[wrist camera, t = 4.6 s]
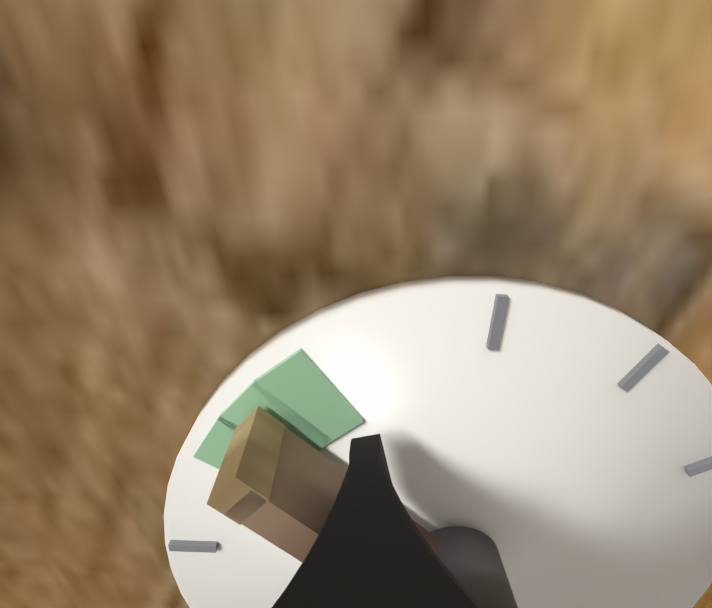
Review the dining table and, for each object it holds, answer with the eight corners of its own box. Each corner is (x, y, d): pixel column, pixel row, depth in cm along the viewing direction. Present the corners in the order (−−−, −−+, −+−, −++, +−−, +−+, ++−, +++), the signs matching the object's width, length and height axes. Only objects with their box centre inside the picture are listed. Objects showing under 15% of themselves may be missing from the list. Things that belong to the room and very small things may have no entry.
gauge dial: (628, 694, 21) (644, 726, 20) (195, 684, 20) (186, 716, 19) (822, 293, 13) (864, 309, 12) (143, 256, 13) (123, 269, 12)
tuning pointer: (517, 558, 16) (554, 652, 13) (449, 604, 16) (469, 702, 14) (283, 378, 13) (264, 450, 10) (215, 445, 14) (180, 528, 11)
